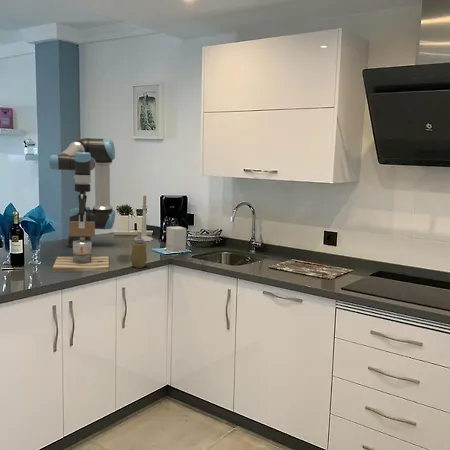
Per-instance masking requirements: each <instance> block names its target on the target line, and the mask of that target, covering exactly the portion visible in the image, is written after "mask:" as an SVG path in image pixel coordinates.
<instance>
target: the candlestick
mask: <svg viewBox="0 0 450 450" xmlns="http://www.w3.org/2000/svg"><path fill="white" fill-rule="evenodd" d="M142 199H143V200H142V205H141V207H142V221H141V231H140V232H141V237H142V239H144V241H151V240H153V239H154V238H153V237H151V236H148V234H147V211H146V209H147V207H148V206H147V195H143V197H142ZM136 238H137V236H136V237H134V239H133V241H134V240H135V239H136ZM153 241H154V240H153ZM151 242H152V241H151Z"/></svg>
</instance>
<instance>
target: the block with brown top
mask: <svg viewBox="0 0 450 450" xmlns="http://www.w3.org/2000/svg"><path fill="white" fill-rule="evenodd" d="M69 233H70V236H80V240H76V241H73V247H72V255H73V254H74V255H90V254H91V255H92V248H93V247H92V246H93V240H92V241H88V240H85V236H91V237H95V236H96V229H95V222H85V228H79V221H70V220H69Z"/></svg>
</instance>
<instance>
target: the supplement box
mask: <svg viewBox="0 0 450 450" xmlns="http://www.w3.org/2000/svg"><path fill="white" fill-rule="evenodd" d="M165 235H166V241H165V242H166V243H165V251H166V250H169V251H172V252H179V251H186V252H187V228H186V227H183V226H166V234H165Z"/></svg>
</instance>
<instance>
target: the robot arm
mask: <svg viewBox="0 0 450 450" xmlns="http://www.w3.org/2000/svg"><path fill="white" fill-rule="evenodd" d="M115 159H116V149H115V144H114V142H113V140H112V139H107V138H91V137H90V138H89V137H84V138H79V139H75V140H74V141H71V143H70V144H69V145H67V148H65V150H63V151H62V152H61V153H59V154H51V155H50V156H49V161H48V162H49V164H48V165H49V168H50V169H51V170H57V171H59V170H60V171H74V176H73V179H74V183H75V184H74V191H75V192H77V193H79V194H78V196H77V198H78V207H74V208H71V209H70V210H69V216H68V217H69V222H70V221H79V228H85V222H95V230H104V231H105V230H111V229H113V227H114V224H115V219H116V210H113V206H112V205H111V184H110V182H111V179H110V178H111V177H110V176H111V173H110V169H111V167H110V166H111V164H113V160H115ZM93 170H94V195H95V196H94V199H95V200H94V201H95V202H94V205H93V206H92V209H91V207H90V206H86V203H87V199H88V198H87V195H86V194H87V193H90V192H91V182H92V180H91V178H92V177H91V176H92V175H91V172H92V171H93ZM76 240H80V236H70V232H68V236H67V240H66V243H65V244H66V246H67V247H69V248H73V241H76ZM85 240H88V241H92V242H93V238H92V236H85Z"/></svg>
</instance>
